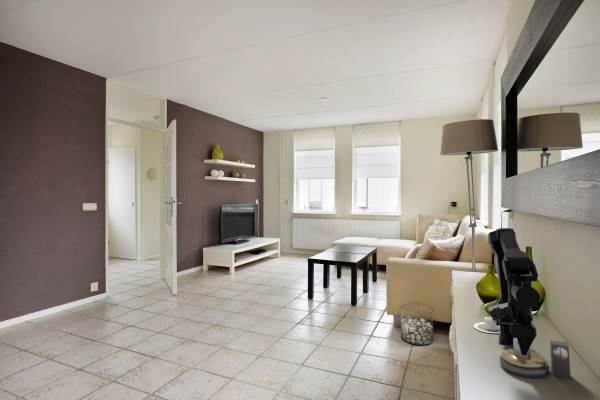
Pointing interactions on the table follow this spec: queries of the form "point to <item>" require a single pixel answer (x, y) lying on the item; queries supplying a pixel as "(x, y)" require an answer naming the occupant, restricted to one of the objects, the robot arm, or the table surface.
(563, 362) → the base
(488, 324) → the candle holder
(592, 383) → the table surface
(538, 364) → the pan
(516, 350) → the cylinder
